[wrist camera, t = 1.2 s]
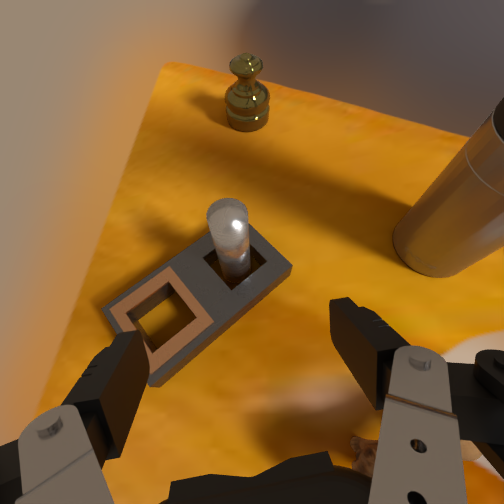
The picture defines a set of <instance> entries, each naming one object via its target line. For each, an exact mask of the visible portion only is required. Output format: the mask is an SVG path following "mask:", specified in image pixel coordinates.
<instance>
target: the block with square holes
mask: <svg viewBox="0 0 504 504" xmlns="http://www.w3.org/2000/svg"><path fill="white" fill-rule="evenodd" d="M248 227H249V246H250V255H251V256H252V257H253V258H254V259H255V260H256V261H257V262H258V263H259V264H260V265H261V267H260V268H259V269H257V270H256V271H255V272H254V273H252V274H251V275H250V276H249V277H247V278H246V279H245V280H244V281H243V282H241V283H240V284H239V285H238V286H236V287H235V288H234V289H233V290H232V291H231V290H230V288H229V287H228V286H227V285H226V284H225V283H224V282H223V281H222V279H221V278H220V277H219V276H218V275H217V274H216V273H215V271H214V270H213V269H212V268H211V267H210V265H211V264H213V263H214V262H215V261H217V260H218V256H217V252H216V249H215V246H214V242H213V239H212V235H211V232H208V233H207V234H206V235H204V236H203V237H201V238H200V239H199V240H197V241H196V242H194V243H193V244H192V245H190V246H189V247H187V248H186V249H185V250H183V251H182V252H180V253H179V254H177V255H176V256H175V257H173V258H172V259H170V260H169V261H168V262H166V263H165V264H163V265H162V266H161V267H159V268H158V269H156V270H155V271H154V272H152V273H151V274H149V275H148V276H146V277H145V278H144V279H142V280H141V281H139V282H138V283H137V284H135V285H134V286H132V287H131V288H130V289H128V290H127V291H125V292H124V293H123V294H121V295H120V296H118V297H117V298H116V299H114V300H113V301H111V302H110V303H108V304H107V305H106V306H104V307H103V308H101V309H102V311H103V312H104V314H105V316H106V317H107V319H108V320H109V322H110V324H111V325H112V327H113V329H114V330H115V332H116V333H117V334H118V333H120V332H127V331H133V330H139V331H140V332H141V334H142V337H143V341H144V345H145V348H146V352H147V356H148V359H149V364H150V373H149V378H148V381H147V383H148V385H149V387H161V386H162V385H163V384H165V383H166V382H167V381H168V380H169V379H170V378H171V377H173V376H174V375H175V374H176V373H177V372H178V371H180V370H181V369H182V368H183V367H184V366H185V365H187V364H188V363H189V362H190V361H191V360H192V359H193V358H195V357H196V356H197V355H198V354H199V353H200V352H202V351H203V350H204V349H205V348H206V347H207V346H209V345H210V344H211V343H212V342H213V341H214V340H216V339H217V338H218V337H219V336H220V335H221V334H222V333H224V332H225V331H226V330H227V329H228V328H229V327H231V326H232V325H233V324H234V323H235V322H236V321H238V320H239V319H240V318H241V317H242V316H243V315H244V314H246V313H247V312H248V311H249V310H250V309H251V308H253V307H254V306H255V305H256V304H257V303H258V302H260V301H261V300H262V299H263V298H264V297H265V296H267V295H268V294H269V293H270V292H271V291H272V290H273V289H275V288H276V287H277V286H278V285H279V284H280V283H282V282H283V281H284V280H285V279H286V278H287V277H289V276H290V273H291V269H292V266H293V265H292V264H291V263H290V262H289V261H288V260H287V259H285V258H284V257H283V256H282V255H281V254H280V253H279V252H278V251H277V250H276V249H275V248H274V247H273V246H272V245H271V244H270V243H269V242H268V241H267V240H266V239H265V238H264V237H263V236H261V235H260V234H259V233H258V232H257V231H256V230H255V229H254V228H253V227H252V226H251V225H250V224H249V223H248ZM176 291H177V293H178V294H179V295H180V296H181V298H182V299H183V300H184V302H185V303H186V304H187V305H188V307H189V308H190V309H191V311H192V312H193V313H194V314H195V316H196V317H197V318H196V319H194V320H193V321H192V322H191V323H190V324H188V325H187V326H186V327H185V328H183V329H182V330H181V331H180V332H178V333H177V334H176V335H175V336H174V337H172V338H171V339H170V340H169V341H167V342H166V343H165V344H164V345H162V346H161V347H160V348H159V349H158V350H157V348H156V347H155V345H154V344H153V342H152V341H151V339H150V338H149V337H148V335H147V334H146V332H145V331H144V329H143V328H142V326H141V325H140V323H139V322H138V320H139V319H140V318H141V317H143V316H144V315H145V314H147V313H148V312H149V311H151V310H152V309H153V308H155V307H156V306H157V305H159V304H160V303H161V302H162V301H164V300H165V299H166V298H168V297H169V296H170V295H172V294H173V293H174V292H176Z"/></svg>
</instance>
